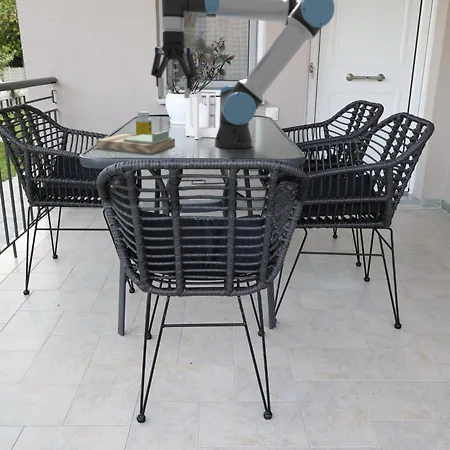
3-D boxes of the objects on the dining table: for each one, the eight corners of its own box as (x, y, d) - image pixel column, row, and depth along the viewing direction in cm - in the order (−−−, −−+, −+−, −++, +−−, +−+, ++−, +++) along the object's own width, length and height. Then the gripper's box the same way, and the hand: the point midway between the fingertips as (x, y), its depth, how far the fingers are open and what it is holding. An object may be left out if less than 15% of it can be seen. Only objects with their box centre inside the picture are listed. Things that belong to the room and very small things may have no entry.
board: (174, 146, 189) (174, 138, 188) (152, 153, 173) (152, 145, 172) (122, 141, 197) (122, 133, 196) (96, 147, 181) (96, 139, 180)
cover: (170, 138, 186) (170, 130, 185) (153, 144, 174) (153, 135, 173) (142, 136, 191) (142, 127, 190) (123, 141, 178) (123, 132, 177)
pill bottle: (148, 141, 198) (148, 113, 194) (133, 140, 199) (132, 112, 195) (154, 139, 204) (153, 111, 200) (139, 138, 205) (138, 110, 201)
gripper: (207, 31, 165) (206, 98, 173) (150, 31, 173) (151, 94, 180) (198, 30, 159) (197, 99, 166) (139, 30, 166) (141, 96, 174)
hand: (173, 97), depth 173 cm, fingers open, 10 cm apart
